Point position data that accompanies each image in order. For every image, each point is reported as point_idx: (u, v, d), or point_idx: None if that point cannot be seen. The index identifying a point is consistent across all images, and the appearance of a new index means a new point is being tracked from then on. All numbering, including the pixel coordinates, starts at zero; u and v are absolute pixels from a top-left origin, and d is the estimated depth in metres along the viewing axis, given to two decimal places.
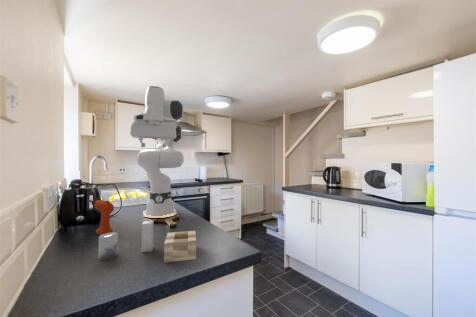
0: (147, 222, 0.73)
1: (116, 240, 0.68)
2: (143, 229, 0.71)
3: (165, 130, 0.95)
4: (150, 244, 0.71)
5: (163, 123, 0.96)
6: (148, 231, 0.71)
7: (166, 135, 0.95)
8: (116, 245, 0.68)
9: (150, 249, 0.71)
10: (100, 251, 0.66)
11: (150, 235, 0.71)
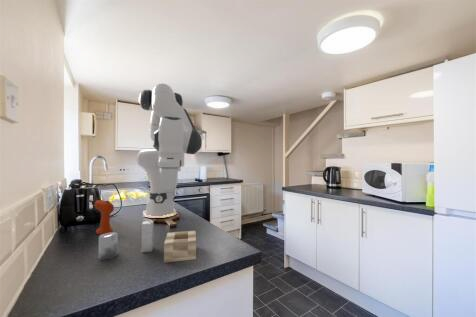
0: (147, 222, 0.73)
1: (116, 240, 0.68)
2: (143, 229, 0.71)
3: None
4: (150, 244, 0.71)
5: None
6: (148, 231, 0.71)
7: (177, 182, 0.78)
8: (116, 245, 0.68)
9: (150, 249, 0.71)
10: (100, 251, 0.66)
11: (150, 235, 0.71)
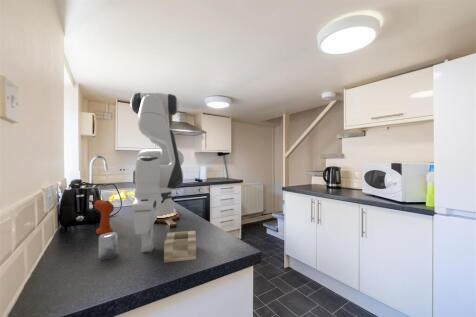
0: None
1: (116, 240, 0.68)
2: None
3: (155, 213, 0.79)
4: (150, 244, 0.71)
5: None
6: None
7: (155, 218, 0.79)
8: (116, 245, 0.68)
9: (150, 249, 0.71)
10: (100, 251, 0.66)
11: (150, 235, 0.72)
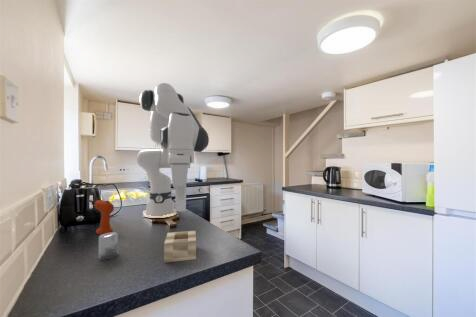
0: None
1: (116, 240, 0.68)
2: None
3: None
4: (184, 203, 0.68)
5: None
6: None
7: None
8: (116, 245, 0.68)
9: (184, 208, 0.68)
10: (100, 251, 0.66)
11: (184, 194, 0.68)
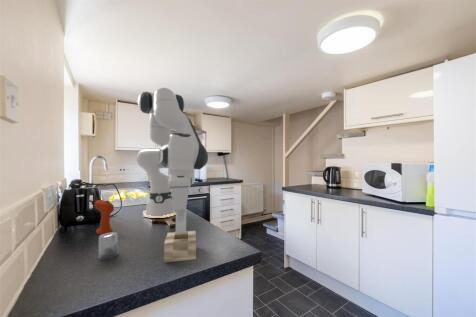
0: None
1: (116, 240, 0.68)
2: None
3: None
4: (184, 224, 0.68)
5: None
6: None
7: None
8: (116, 245, 0.68)
9: (184, 229, 0.68)
10: (100, 251, 0.66)
11: (184, 214, 0.68)
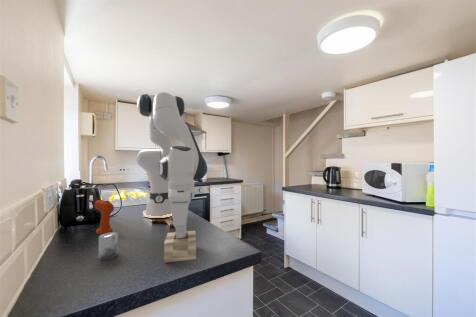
0: None
1: (116, 240, 0.68)
2: None
3: None
4: None
5: None
6: None
7: None
8: (116, 245, 0.68)
9: None
10: (100, 251, 0.66)
11: (184, 235, 0.68)
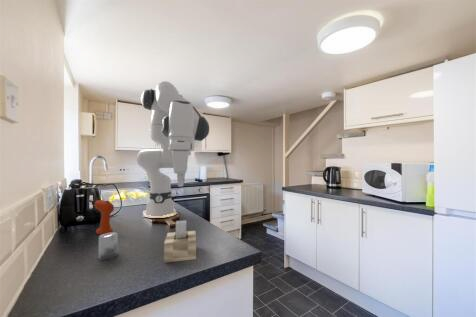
0: (181, 222, 0.70)
1: (116, 240, 0.68)
2: (177, 229, 0.68)
3: None
4: None
5: None
6: (182, 231, 0.68)
7: None
8: (116, 245, 0.68)
9: None
10: (100, 251, 0.66)
11: (184, 235, 0.68)
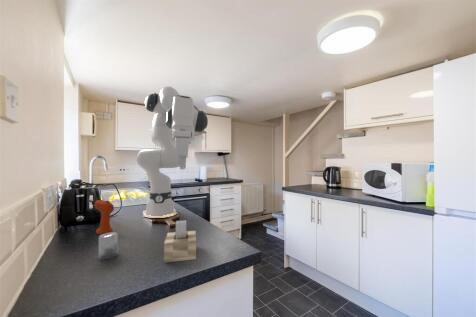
0: (181, 222, 0.70)
1: (116, 240, 0.68)
2: (177, 229, 0.68)
3: None
4: None
5: None
6: (182, 231, 0.68)
7: None
8: (116, 245, 0.68)
9: None
10: (100, 251, 0.66)
11: (184, 235, 0.68)
